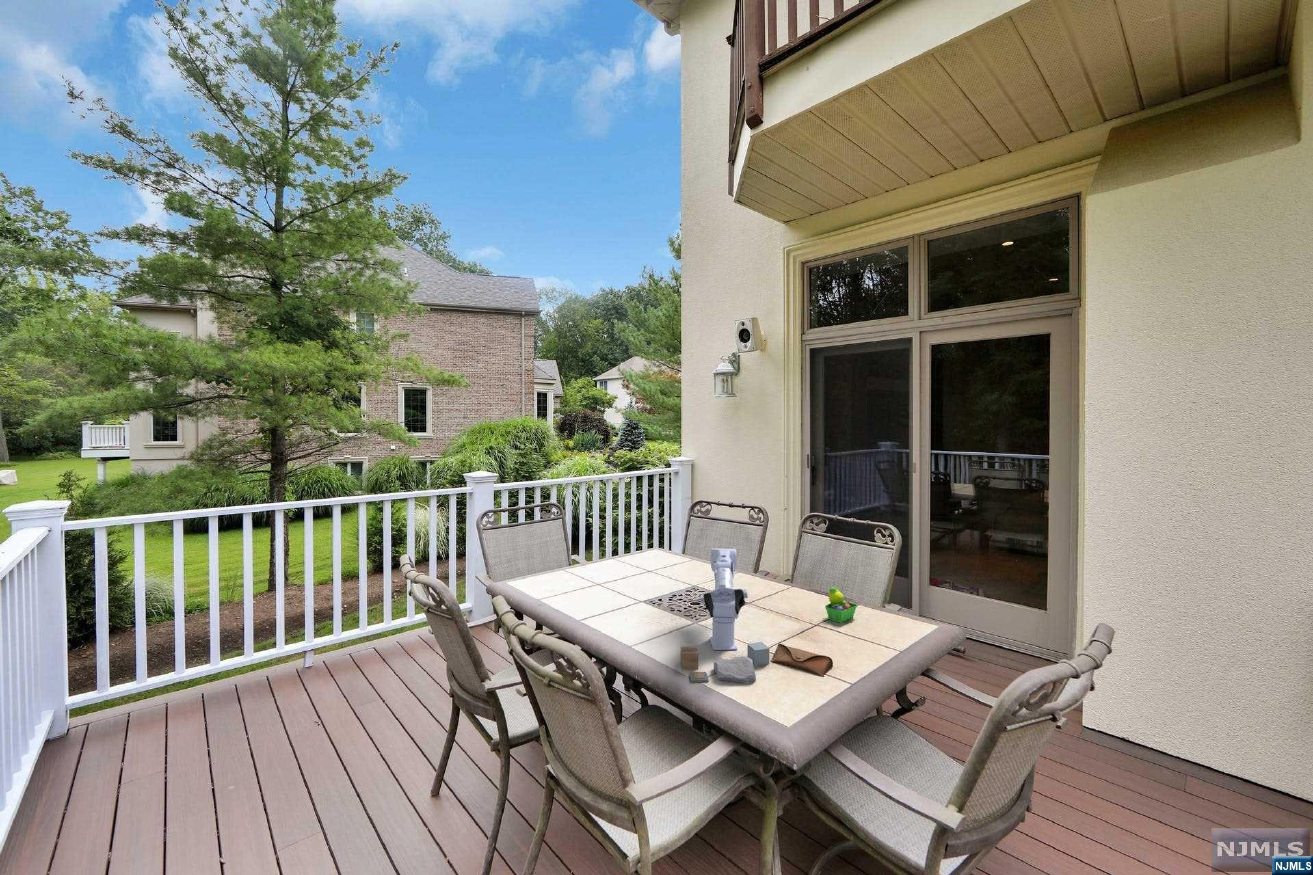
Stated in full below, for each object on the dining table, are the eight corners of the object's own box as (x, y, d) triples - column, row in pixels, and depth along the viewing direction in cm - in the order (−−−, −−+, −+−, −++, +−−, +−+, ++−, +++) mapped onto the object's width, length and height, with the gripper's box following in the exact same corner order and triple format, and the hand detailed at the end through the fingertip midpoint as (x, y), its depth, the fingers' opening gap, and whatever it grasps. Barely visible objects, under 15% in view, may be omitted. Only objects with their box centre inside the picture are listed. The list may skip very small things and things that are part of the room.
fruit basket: (841, 624, 194) (842, 594, 193) (821, 617, 200) (821, 588, 200) (858, 617, 201) (858, 588, 200) (837, 611, 208) (837, 583, 207)
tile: (689, 673, 156) (689, 671, 156) (706, 673, 156) (706, 671, 156) (691, 682, 151) (691, 679, 151) (708, 681, 151) (708, 679, 151)
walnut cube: (680, 662, 163) (680, 646, 163) (696, 661, 164) (696, 646, 164) (682, 669, 158) (682, 653, 158) (698, 669, 159) (698, 653, 159)
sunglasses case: (767, 661, 164) (772, 639, 166) (774, 665, 169) (778, 644, 171) (825, 677, 154) (829, 654, 156) (831, 681, 159) (834, 658, 161)
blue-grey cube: (747, 659, 166) (747, 643, 165) (761, 657, 167) (761, 641, 167) (754, 666, 161) (755, 650, 161) (769, 663, 162) (769, 648, 162)
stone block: (758, 689, 151) (751, 666, 160) (758, 674, 150) (751, 652, 159) (717, 691, 150) (712, 668, 160) (717, 676, 149) (712, 654, 159)
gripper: (699, 578, 168) (697, 604, 155) (744, 572, 165) (746, 598, 152) (703, 597, 170) (702, 624, 157) (748, 591, 167) (750, 618, 154)
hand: (724, 612), depth 155 cm, fingers open, 7 cm apart
